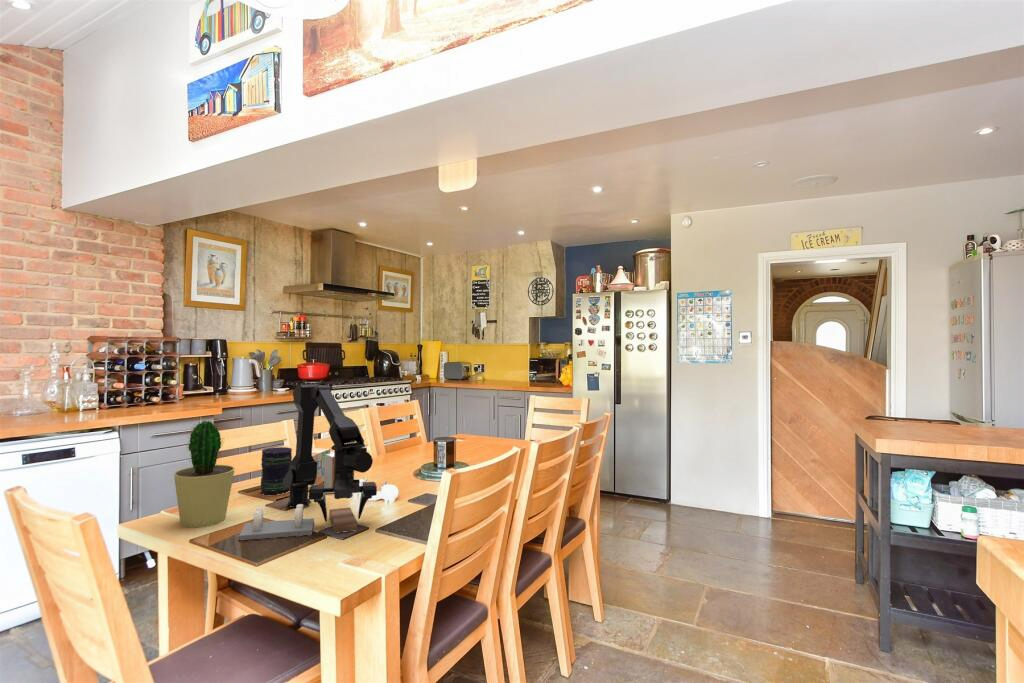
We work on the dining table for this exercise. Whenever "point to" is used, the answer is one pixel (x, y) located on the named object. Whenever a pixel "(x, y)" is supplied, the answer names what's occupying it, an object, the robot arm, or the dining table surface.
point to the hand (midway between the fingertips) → (342, 519)
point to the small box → (329, 471)
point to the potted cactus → (203, 480)
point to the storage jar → (275, 470)
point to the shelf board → (342, 519)
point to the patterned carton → (320, 462)
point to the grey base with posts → (277, 526)
